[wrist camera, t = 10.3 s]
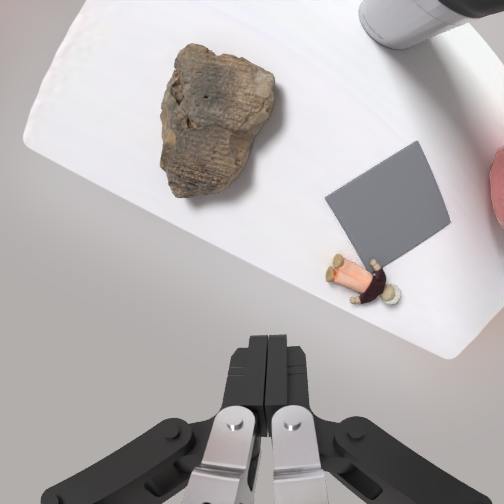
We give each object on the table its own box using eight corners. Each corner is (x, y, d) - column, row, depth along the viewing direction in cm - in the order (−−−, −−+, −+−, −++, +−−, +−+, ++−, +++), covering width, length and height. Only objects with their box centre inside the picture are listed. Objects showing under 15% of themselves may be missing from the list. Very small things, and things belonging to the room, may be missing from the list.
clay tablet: (233, 210, 40) (288, 75, 31) (226, 221, 36) (288, 68, 27) (144, 176, 39) (188, 45, 30) (128, 183, 35) (175, 36, 26)
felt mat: (416, 140, 33) (417, 140, 32) (449, 221, 37) (450, 222, 37) (324, 197, 38) (325, 198, 37) (368, 273, 42) (369, 274, 42)
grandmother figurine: (344, 257, 37) (415, 288, 37) (342, 242, 40) (409, 272, 41) (318, 296, 41) (386, 322, 42) (318, 280, 44) (382, 306, 45)
